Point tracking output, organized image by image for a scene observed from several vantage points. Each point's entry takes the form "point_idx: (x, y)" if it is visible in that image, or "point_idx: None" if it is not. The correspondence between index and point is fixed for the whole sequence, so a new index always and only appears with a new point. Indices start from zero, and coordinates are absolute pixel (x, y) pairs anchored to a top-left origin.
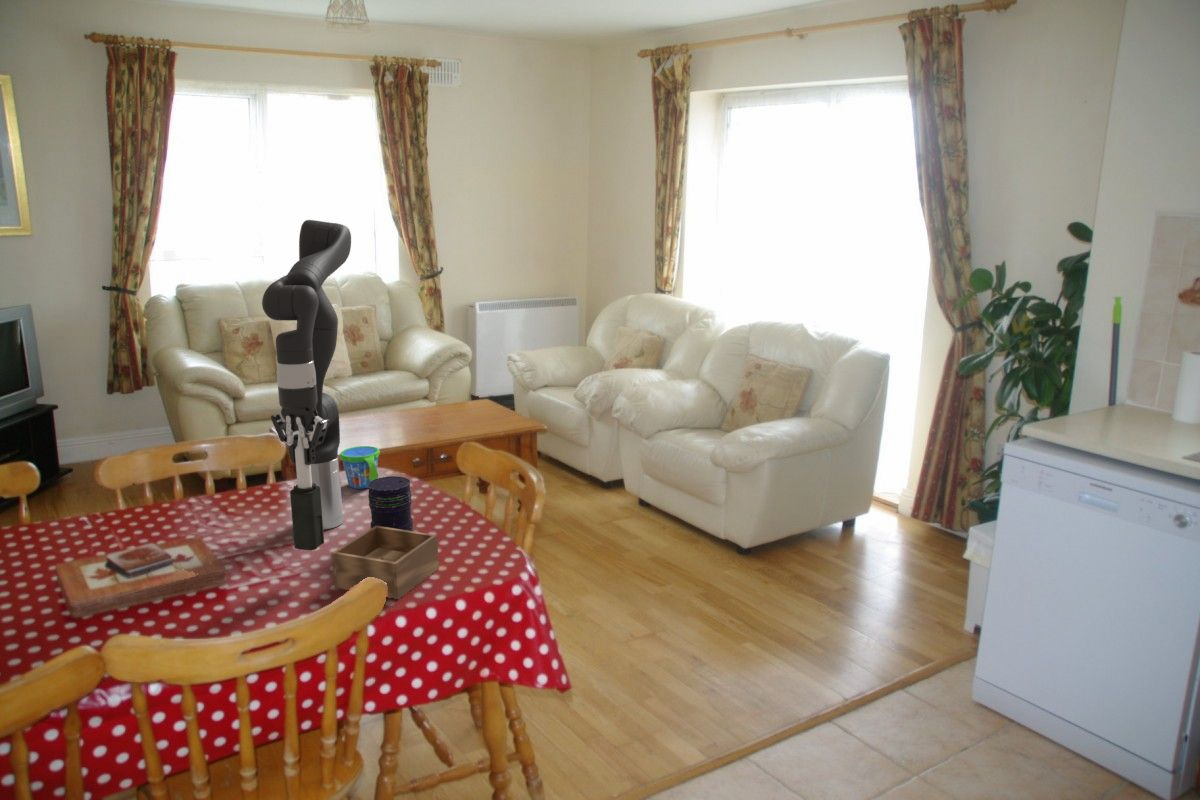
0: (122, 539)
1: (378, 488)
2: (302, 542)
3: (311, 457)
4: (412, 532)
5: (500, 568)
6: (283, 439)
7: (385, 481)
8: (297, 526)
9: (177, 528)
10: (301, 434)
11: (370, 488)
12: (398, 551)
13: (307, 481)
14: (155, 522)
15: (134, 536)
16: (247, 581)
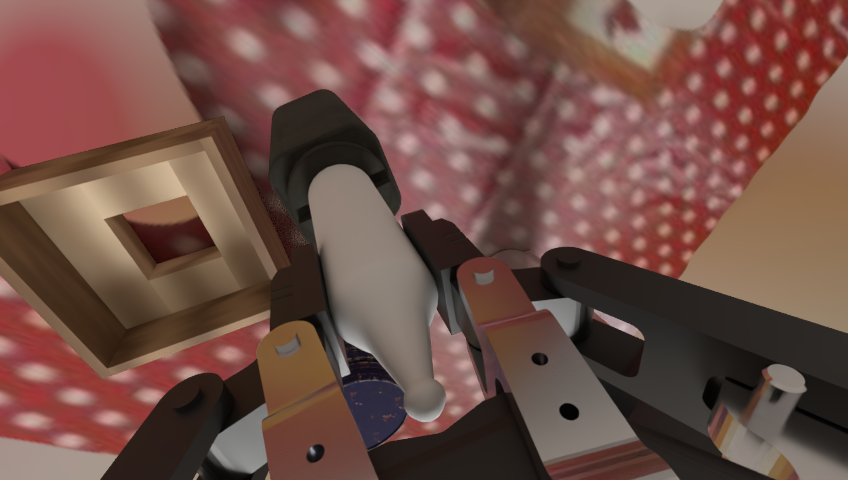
0: (763, 12)
1: (351, 391)
2: (300, 101)
3: (271, 297)
4: (175, 346)
5: (22, 401)
6: (554, 265)
7: (378, 417)
8: (317, 103)
9: (703, 107)
10: (317, 419)
11: (369, 378)
12: (225, 294)
13: (311, 204)
14: (747, 99)
15: (750, 36)
16: (425, 16)
